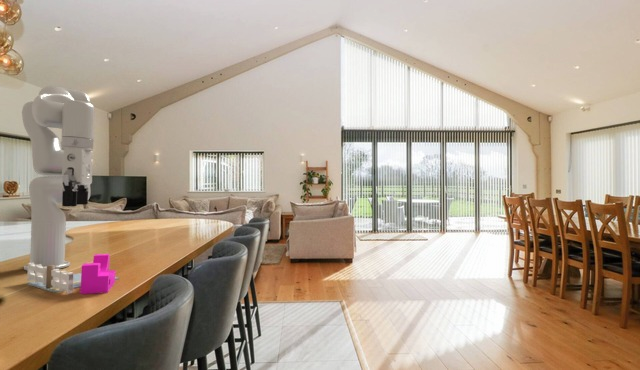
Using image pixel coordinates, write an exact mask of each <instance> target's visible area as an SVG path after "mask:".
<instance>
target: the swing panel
mask: <svg viewBox="0 0 640 370" xmlns="http://www.w3.org/2000/svg"><path fill="white" fill-rule="evenodd" d="M27 264H28V271H27V274H26V275H27V276H26V277H27V278H26V279H27V282H33V281H35V283H40V282H42V285H44V286H45V285H46V275H47V267H42V265H34V263H30V262H27Z"/></svg>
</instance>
